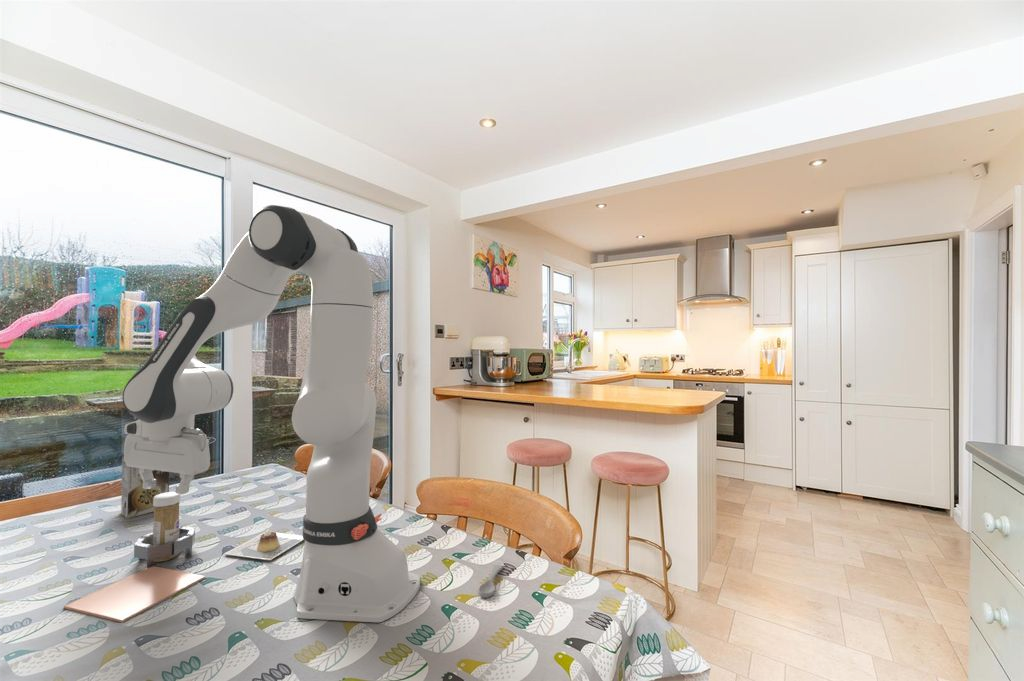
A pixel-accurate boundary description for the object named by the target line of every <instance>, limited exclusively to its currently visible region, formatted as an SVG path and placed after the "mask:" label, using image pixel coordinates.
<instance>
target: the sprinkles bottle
mask: <svg viewBox="0 0 1024 681" xmlns="http://www.w3.org/2000/svg"><path fill="white" fill-rule="evenodd" d="M181 495H182V494H177V493H176V491H169V492H166V493H161V494H158V495H156V496H154V498H153V506H154V512H153V521H152V522H153V523H152V524H153V526H152V532H153V544H154V545H155V544H161V543H167V542H172V541H174V540H177V539H179V527H180V502H181ZM179 554H180V552H179V553H177V554H175V555H172V556H167V557H161V558H156V559H154V563H155V562H156V563H159V562H160V563H162V562H166V561H169V560H172V559H174V558H176V557H178V556H179Z"/></svg>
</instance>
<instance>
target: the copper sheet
mask: <svg viewBox="0 0 1024 681" xmlns="http://www.w3.org/2000/svg"><path fill="white" fill-rule="evenodd" d="M204 579H206V575H201V574H197V573H196V574H195V573H192V572H191V573H190V572H186V571H185V572H184V571H180V570H175V569H170V568H163V567H159V566H155V565H154V566H153V567H150V568H147V569H146V568H144V569H141V571H138V572H136V573H133V574H131V575H129V576H127V577H125V578H122V579H120V580H118V581H115V582H114V583H110V584H109V585H107V586H105V587H102V588H101V589H98V590H96V591H93V592H92V593H89V594H87V595H85V596H83V597H81V598H78V599H76V600H74V601H72V602H69V603H67V604H65V605H63V609H66V610H69V611H74V612H78V613H80V614H81V613H82V614H86V615H90V616H93V617H98V618H102V619H106V620H110V621H115V622H119V623H124V622H126V621H128V620H129V619H131V618H134V617H136V616H137V615H139V614H141V613H143V612H145V611H146V610H149V609H150V608H152V607H154V606H156V605H158V604H160V603H161V602H163V601H165V600H167V599H170V598H172V596H175V595H176V594H178V593H180V592H182V591H184V590H185V589H187V588H189V587H191V586H194V585H196V584H197V583H199V582H201V581H202V580H204Z"/></svg>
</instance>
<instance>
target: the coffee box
mask: <svg viewBox="0 0 1024 681" xmlns="http://www.w3.org/2000/svg"><path fill="white" fill-rule="evenodd" d="M121 459H122V460H121V501H120V502H121V504H120V506H121V507H120V513H121V515H122V516H124V518H126V519H130V518H134V517H137V516H142V515H145V514H150V513H154V506H153V498H154V496H156V495H158V494H161V493H166V492H170V472H166V471H159V470H153V471H152V473H153V477H154V479H157V481H156V487H155V488H151V489H144V488H143V481H142V478H141V476H140V474H139V468H136V467H129V466H127V465H126V463H125V461H124V453H122V458H121Z"/></svg>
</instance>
